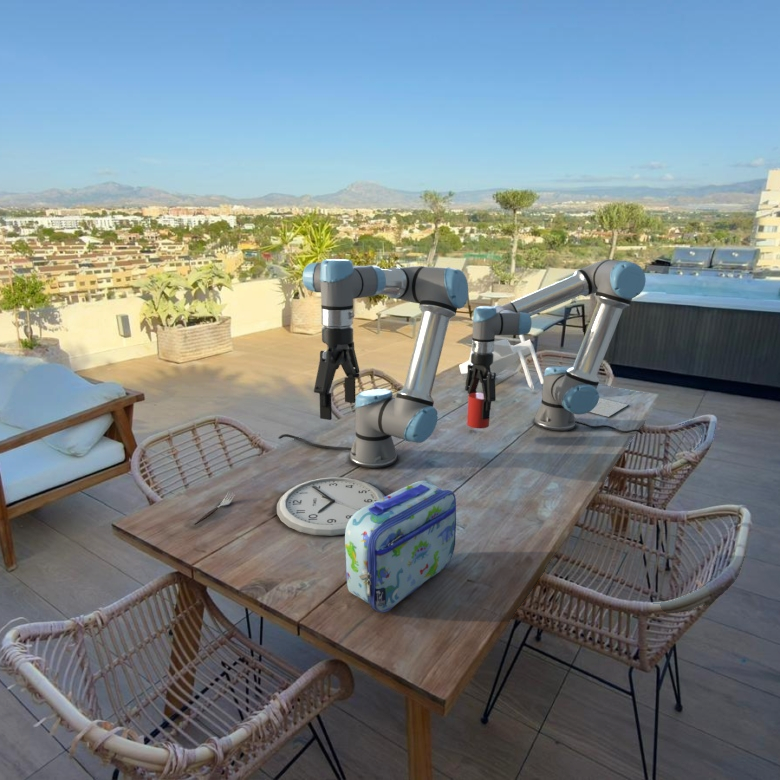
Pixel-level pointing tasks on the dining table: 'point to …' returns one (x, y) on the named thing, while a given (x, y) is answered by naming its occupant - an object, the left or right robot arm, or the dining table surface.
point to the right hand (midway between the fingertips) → (478, 414)
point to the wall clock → (325, 504)
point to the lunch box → (399, 543)
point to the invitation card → (607, 407)
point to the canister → (476, 411)
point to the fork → (223, 503)
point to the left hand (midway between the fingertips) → (338, 410)
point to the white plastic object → (510, 358)
